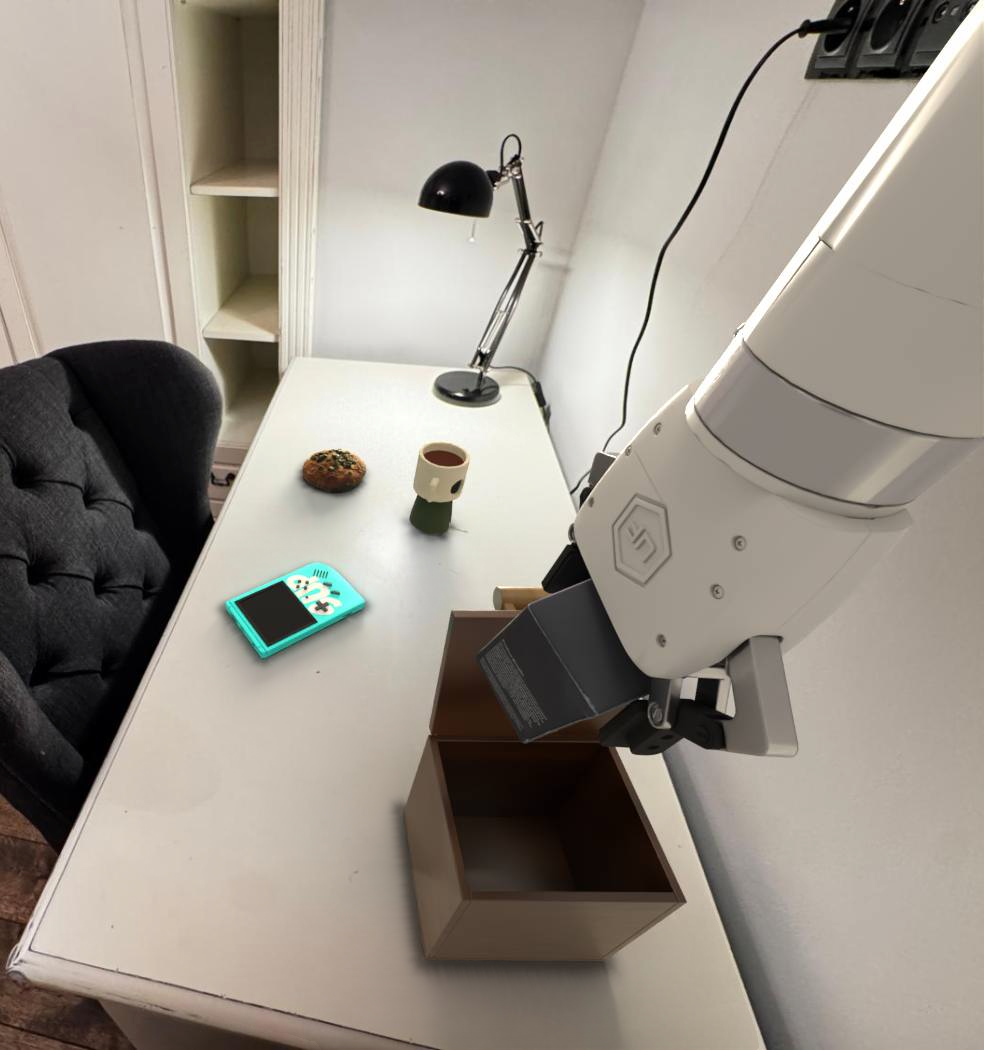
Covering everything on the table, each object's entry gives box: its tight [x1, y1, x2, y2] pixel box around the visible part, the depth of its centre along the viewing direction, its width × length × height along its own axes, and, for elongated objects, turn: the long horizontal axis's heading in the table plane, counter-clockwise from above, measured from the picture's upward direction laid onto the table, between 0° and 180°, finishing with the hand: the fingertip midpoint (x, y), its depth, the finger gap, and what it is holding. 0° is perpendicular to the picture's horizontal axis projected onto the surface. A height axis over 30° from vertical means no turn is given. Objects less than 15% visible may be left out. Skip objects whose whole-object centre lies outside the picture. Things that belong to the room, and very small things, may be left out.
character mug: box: [408, 440, 471, 536], centre depth 84 cm, size 11×7×13 cm, turn 154°
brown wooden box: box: [402, 733, 688, 962], centre depth 46 cm, size 12×15×15 cm
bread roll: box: [301, 448, 367, 494], centre depth 97 cm, size 11×11×5 cm
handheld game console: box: [225, 562, 366, 659], centre depth 75 cm, size 10×16×1 cm, turn 122°
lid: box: [428, 586, 628, 736], centre depth 45 cm, size 12×15×6 cm
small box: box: [475, 578, 688, 744], centre depth 33 cm, size 11×6×10 cm, turn 109°
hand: (592, 658), depth 33 cm, fingers open, 9 cm apart
